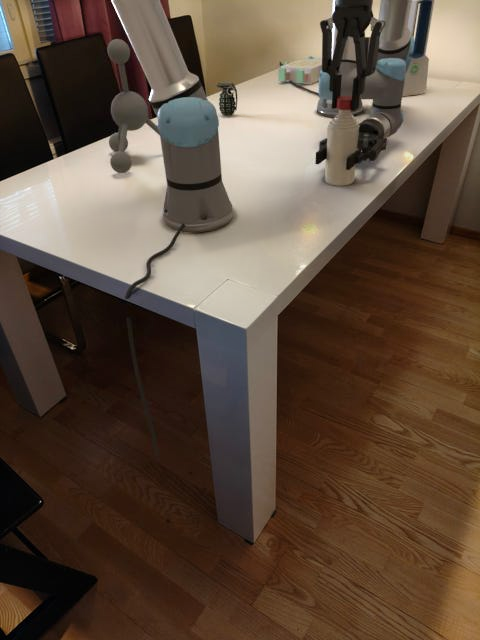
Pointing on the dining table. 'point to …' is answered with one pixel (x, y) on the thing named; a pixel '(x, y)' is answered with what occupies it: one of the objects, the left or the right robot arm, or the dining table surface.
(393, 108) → the right robot arm
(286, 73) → the decorative block
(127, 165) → the molecular model
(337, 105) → the cap
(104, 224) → the dining table surface
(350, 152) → the bottle
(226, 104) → the grenade
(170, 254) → the dining table surface
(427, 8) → the electronic device
